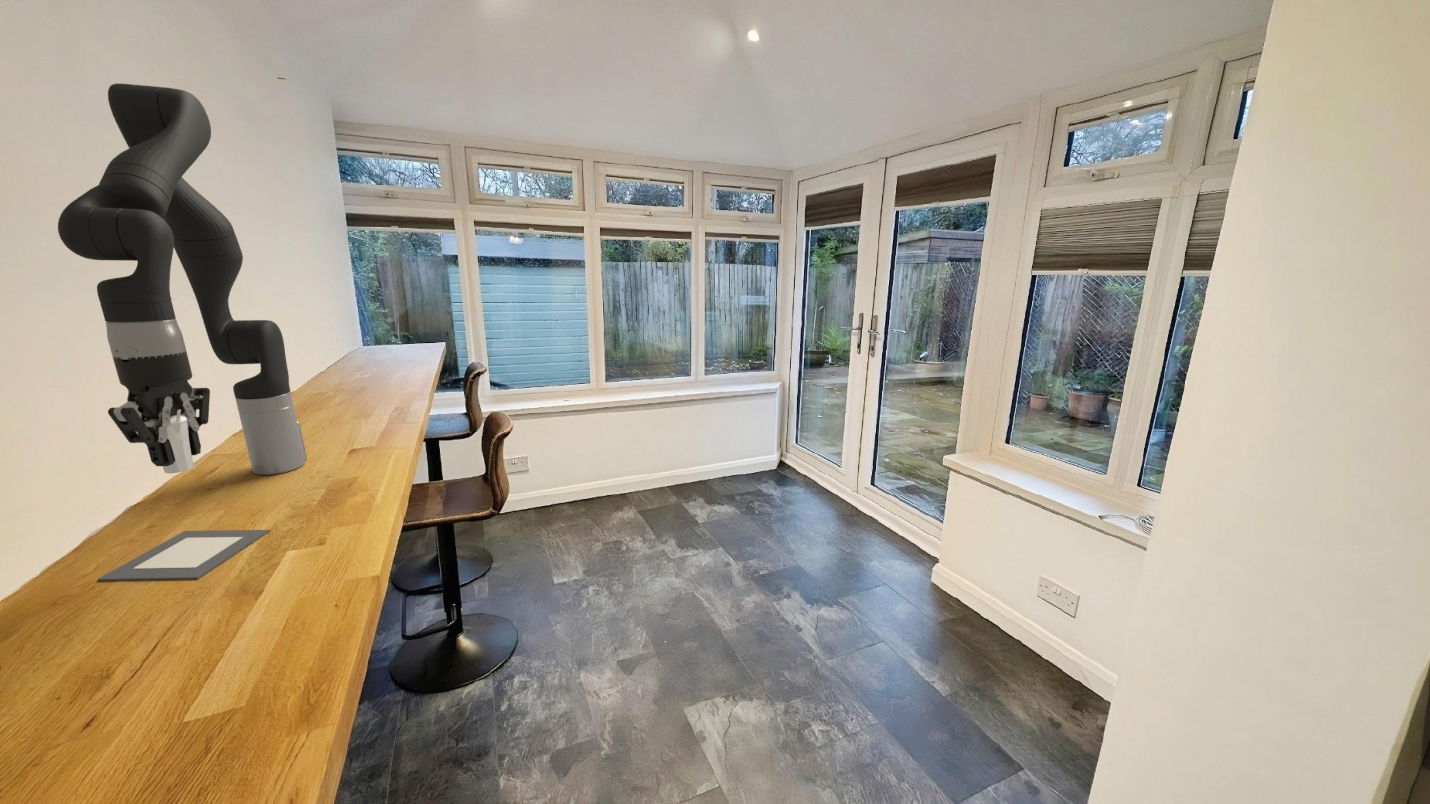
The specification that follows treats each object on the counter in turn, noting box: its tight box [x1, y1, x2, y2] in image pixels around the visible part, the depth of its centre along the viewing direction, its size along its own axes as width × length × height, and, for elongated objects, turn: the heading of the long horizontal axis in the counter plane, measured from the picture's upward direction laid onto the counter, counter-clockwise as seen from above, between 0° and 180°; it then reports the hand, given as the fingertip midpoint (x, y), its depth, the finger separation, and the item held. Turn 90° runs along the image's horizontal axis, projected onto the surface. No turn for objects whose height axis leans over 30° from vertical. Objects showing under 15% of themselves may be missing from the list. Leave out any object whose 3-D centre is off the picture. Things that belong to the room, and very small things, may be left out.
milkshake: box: [149, 410, 195, 475], centre depth 80 cm, size 4×5×10 cm
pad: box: [97, 529, 271, 582], centre depth 83 cm, size 14×14×1 cm
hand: (178, 459), depth 81 cm, fingers closed on milkshake, 4 cm apart
